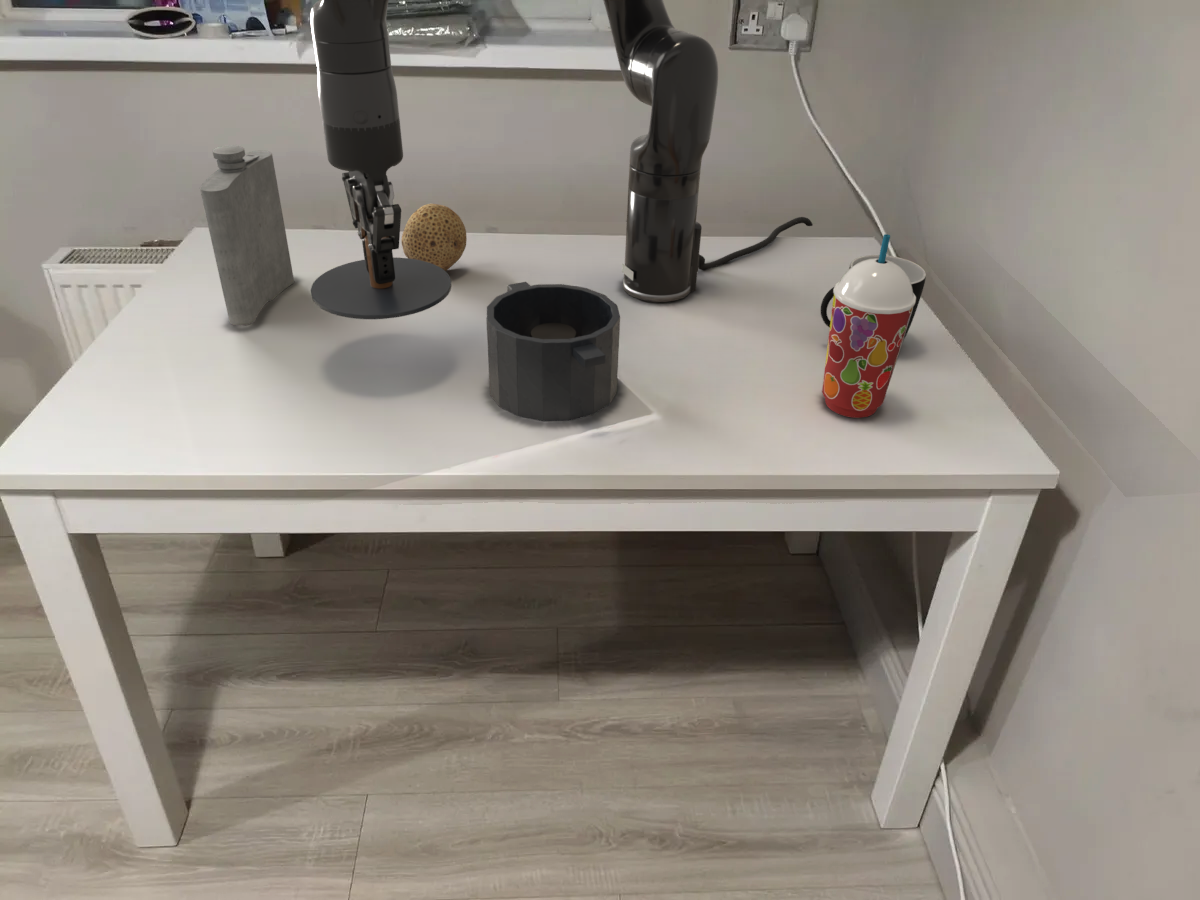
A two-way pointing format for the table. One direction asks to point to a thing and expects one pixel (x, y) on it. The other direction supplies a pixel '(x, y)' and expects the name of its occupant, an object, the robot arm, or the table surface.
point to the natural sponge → (434, 236)
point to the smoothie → (866, 334)
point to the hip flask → (247, 231)
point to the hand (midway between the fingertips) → (380, 275)
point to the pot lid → (380, 289)
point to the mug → (910, 268)
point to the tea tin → (553, 331)
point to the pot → (552, 352)
